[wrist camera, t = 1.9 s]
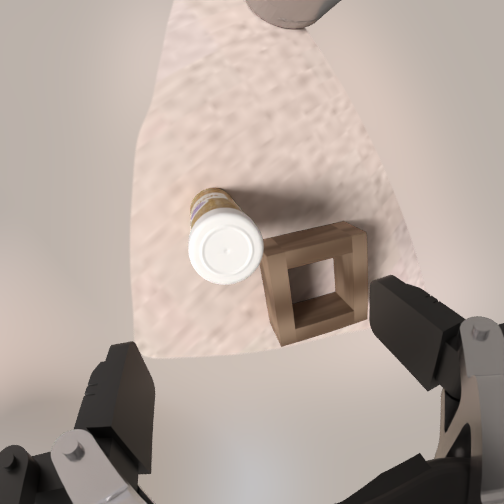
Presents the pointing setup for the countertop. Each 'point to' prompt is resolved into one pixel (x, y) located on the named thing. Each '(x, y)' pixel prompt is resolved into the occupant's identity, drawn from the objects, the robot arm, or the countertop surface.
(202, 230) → the sprinkles bottle
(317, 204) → the countertop surface
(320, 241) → the frame
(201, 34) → the countertop surface
